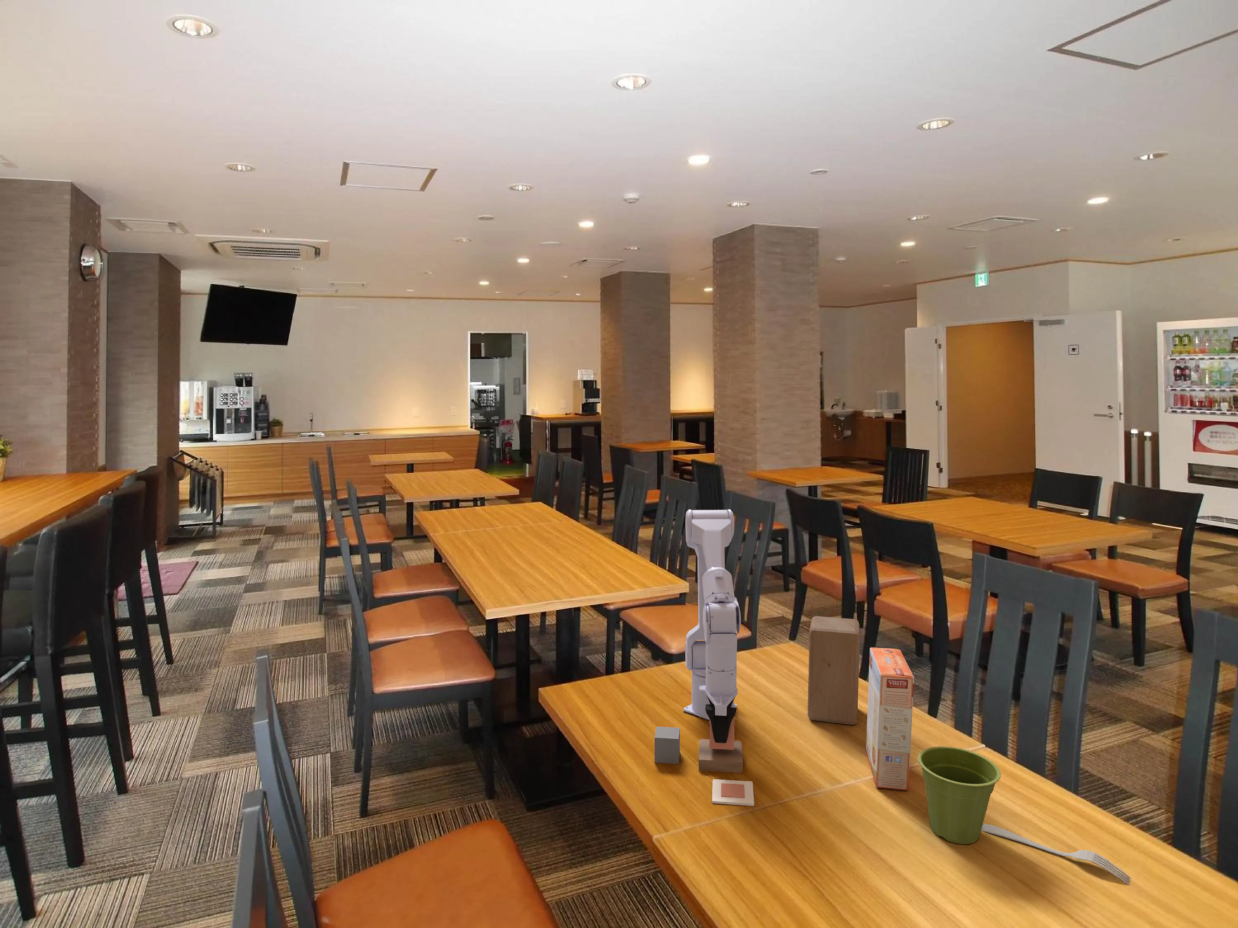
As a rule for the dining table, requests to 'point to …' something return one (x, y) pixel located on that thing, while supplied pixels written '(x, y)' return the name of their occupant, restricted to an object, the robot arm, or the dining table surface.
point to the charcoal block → (667, 745)
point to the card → (732, 792)
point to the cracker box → (889, 718)
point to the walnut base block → (720, 758)
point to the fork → (1078, 855)
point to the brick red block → (727, 745)
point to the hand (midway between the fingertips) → (720, 735)
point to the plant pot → (957, 791)
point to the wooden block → (833, 670)
